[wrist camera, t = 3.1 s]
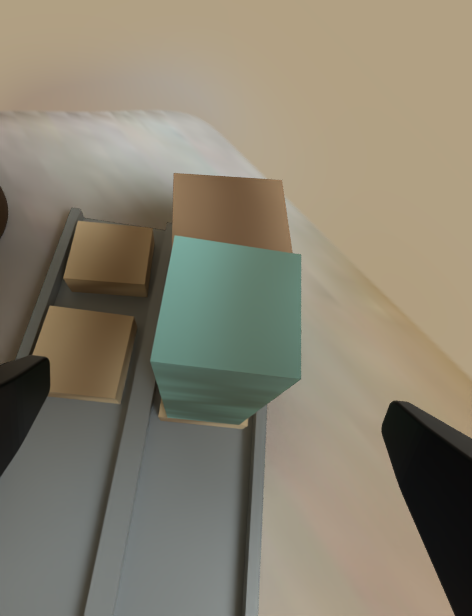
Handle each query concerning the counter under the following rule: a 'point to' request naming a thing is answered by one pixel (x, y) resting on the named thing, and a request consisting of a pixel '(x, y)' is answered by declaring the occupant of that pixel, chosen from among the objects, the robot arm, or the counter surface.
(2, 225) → the olive oil
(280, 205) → the cube
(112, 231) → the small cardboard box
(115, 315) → the tan square block
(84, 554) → the lane tray
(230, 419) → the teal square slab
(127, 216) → the counter surface
